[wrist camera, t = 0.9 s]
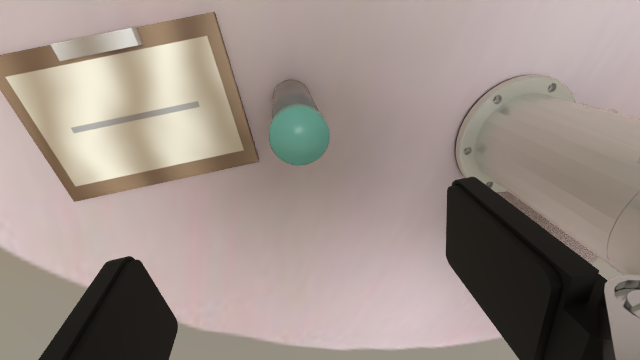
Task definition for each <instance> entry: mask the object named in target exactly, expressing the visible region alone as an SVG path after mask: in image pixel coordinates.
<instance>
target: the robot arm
mask: <svg viewBox="0 0 640 360" xmlns="http://www.w3.org/2000/svg"><path fill="white" fill-rule="evenodd" d="M456 160H457V164H458V166H459V169H460V171H461V173H462V174H463V175H464V177H465V178H464V179H459V180H455V181H454V182H453V183H452V186H450V187H448V190H447V227H446V257H447V260H448V262H449V264H450V266H451V267H452V269H453V270H454V271H455V273H456V274H457V275H458V277H459V278H460V279H461V281H462V282H463V284H464V285H465V286H466V288H467V289H468V290H469V292H470V293H471V294H472V296H473V297H474V298H475V300H476V301H477V303H478V304H479V305H480V307H481V308H482V309H483V311H484V312H485V313H486V315H487V316H488V317H489V319H490V320H491V322H492V323H493V324H494V326H495V327H496V328H497V330H498V331H499V332H500V334H501V335H502V337H503V338H504V339H505V341H506V342H507V343H508V345H509V346H510V347H511V349H512V350H513V351H514V353H515V354H516V356H517V357H518V358H519V360H640V119H636V118H632V117H629V116H625V115H621V114H618V113H617V111H615V110H614V109H609V110H602V109H598V108H594V107H590V106H587V105H583V104H579V103H576V102H575V99H574V97H573V94H572V93H571V92H570V90H569V89H568V88H567V86H565V85H564V84H563V83H561V82H560V81H558V80H556V79H553V78H550V77H546V76H540V75H524V76H520V77H515V78H512V79H510V80H507V81H505V82H503V83H501V84H499V85H498V86H496V87H494V88H493V89H491V90H490V91H489V92H487V93H486V94H485V95H484V96H483V97H482V98H480V100H479V101H478V102H477V103H476V104H475V105H474V106H473V107H472V109H471V110H470V112H469V113H468V115H467V116H466V118H465V119H464V121H463V124H462V126H461V128H460V130H459V134H458V137H457V141H456ZM496 192H510V193H511V194H512V195H514V196H515V197H517V198H518V199H519V200H521V201H522V202H523V203H525V204H526V205H528V206H529V207H530V208H532V209H533V210H535V211H536V212H537V213H539V214H540V215H541V216H543V217H544V218H546V219H547V220H548V221H550V222H551V223H552V224H554V225H555V226H557V227H558V228H559V229H561V230H562V231H564V232H565V233H566V234H568V235H569V236H570V237H572V238H573V239H575V240H576V241H577V242H579V243H580V244H581V245H583V246H584V247H586V248H587V249H588V250H590V251H591V252H593V253H594V254H595V255H597V256H598V257H599V258H601V259H602V260H604V261H605V262H607V263H608V264H609V265H610V266H612V267H613V268H615V269H616V270H617V271H619V272H620V273H621V274H623V275H618V276H615V277H613V278H610V279H609V280H608V281H607V280H606V279H605V278H603V277H602V276H601V275H600V274H598V273H599V270H598V269H596V268H595V267H593V266H592V265H591V264H590V263H588V262H587V261H586V260H584V259H583V258H582V257H581V256H579V255H578V254H577V253H575V252H574V251H573V250H571V249H570V248H569V247H567V246H566V245H565V244H563V243H562V242H561V241H559V240H558V239H557V238H555V237H554V236H553V235H551V234H550V233H549V232H547V231H546V230H545V229H543V228H542V227H541V226H540V225H538V224H537V223H536V222H534V221H533V220H532V219H530V218H529V217H528V216H526V215H525V214H524V213H522V212H521V211H520V210H518V209H517V208H516V207H514V206H513V205H512V204H510V203H509V202H508V201H506V200H505V199H504V198H503V197H501V196H500V195H499V194H497V193H496ZM177 328H178V324H177V320H176V318H175V316H174V314H173V313H172V311H171V310H170V308H169V306H168V305H167V303H166V301H165V300H164V298H163V297H162V295H161V293H160V292H159V290H158V288H157V287H156V285H155V284H154V282H153V280H152V279H151V277H150V275H149V274H148V272H147V270H146V269H145V267H144V266H143V264H142V263H141V261H139V260H135V259H134V258H133V257H129V256H128V257H124V258H119V259H115V260H111V261H108V262H106V263H105V264H104V266H103V267H102V269H101V270H100V272H99V273H98V275H97V276H96V277H95V279H94V280H93V282H92V283H91V285H90V286H89V288H88V289H87V290H86V292H85V293H84V295H83V296H82V298H81V299H80V301H79V302H78V303H77V305H76V306H75V308H74V309H73V311H72V312H71V314H70V315H69V316H68V318H67V320H66V321H65V322H64V324H63V325H62V327H61V328H60V329H59V331H58V332H57V334H56V335H55V337H54V338H53V340H52V341H51V342H50V344H49V345H48V347H47V348H46V350H45V351H44V353H43V354H42V355H41V357H40V358H39V360H169V357H170V353H171V350H172V347H173V344H174V340H175V337H176V333H177Z"/></svg>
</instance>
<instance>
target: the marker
mask: <svg viewBox="0 0 640 360" xmlns="http://www.w3.org/2000/svg"><path fill="white" fill-rule="evenodd" d="M269 139H270V145H271V148H272V150H273V151H274V153H275V154H276V155H277V156H278V157H279V158H280V159H281V160H283V161H284V162H286V163H289V164H292V165H306V164H309V163H312V162H314V161H316V160H317V159H318V158H320V157H321V156H322V155H323V153H324V152H325V150H326V148H327V146H328V143H329V130H328V126H327V124H326V122H325V120H324V118H323V116H322V115H321V114H320V113H319V111H318V109H317V107H316V105H315V103H314V101H313V99H312V97H311V95H310V93H309V91H308V89H307V87H306V86H305V85H304V84H302V83H301V82H299V81H296V80H287V81H284V82H282V83H281V84H280V85H278V87H277V88H276V89H275V91H274V95H273V110H272V122H271V125H270V134H269Z"/></svg>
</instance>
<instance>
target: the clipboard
mask: <svg viewBox="0 0 640 360" xmlns="http://www.w3.org/2000/svg"><path fill="white" fill-rule="evenodd" d="M0 90H1V92H2V93H3V95H4V96H5V98H6V99H7V101H8V102H9V104H10V105H11V107H12V108H13V110H14V111H15V113H16V114H17V116H18V117H19V119H20V120H21V122H22V123H23V125H24V127H25V128H26V130H27V131H28V133H29V134H30V136H31V137H32V139H33V140H34V142H35V143H36V145H37V146H38V148H39V149H40V151H41V152H42V154H43V155H44V157H45V158H46V160H47V161H48V163H49V164H50V166H51V167H52V169H53V170H54V172H55V173H56V175H57V176H58V178H59V179H60V181H61V182H62V184H63V185H64V187H65V188H66V190H67V191H68V193H69V195H70V196H71V198H72V199H73V201H74V202H75V201H80V200H85V199H89V198H94V197H98V196H103V195H108V194H112V193H117V192H121V191H126V190H131V189H135V188H140V187H144V186H149V185H154V184H158V183H163V182H167V181H172V180H177V179H181V178H186V177H190V176H195V175H200V174H204V173H209V172H214V171H218V170H223V169H227V168H232V167H237V166H241V165H246V164H250V163H255V162H259V158H258V155H257V151H256V148H255V145H254V141H253V138H252V135H251V131H250V128H249V125H248V121H247V118H246V115H245V111H244V108H243V105H242V102H241V98H240V95H239V92H238V88H237V85H236V82H235V78H234V75H233V72H232V68H231V65H230V62H229V58H228V55H227V52H226V48H225V45H224V42H223V38H222V35H221V32H220V28H219V25H218V22H217V18H216V15H215V12H212V13H207V14H202V15H197V16H192V17H187V18H182V19H177V20H172V21H167V22H162V23H157V24H152V25H147V26H142V27H137V28H128V29H123V30H118V31H113V32H108V33H103V34H98V35H93V36H88V37H83V38H78V39H73V40H68V41H63V42H58V43H53V44H51V45H48V46H43V47H38V48H34V49H29V50H24V51H19V52H14V53H9V54H4V55H0Z"/></svg>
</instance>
